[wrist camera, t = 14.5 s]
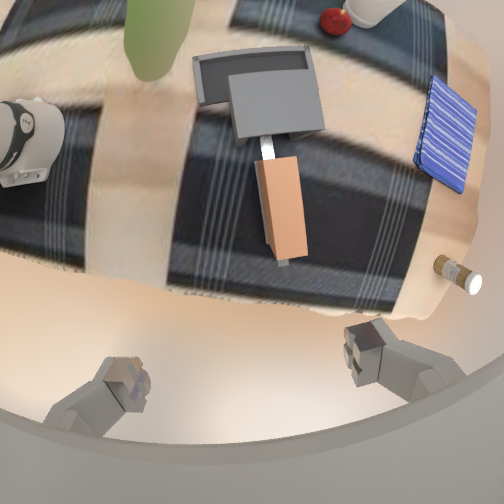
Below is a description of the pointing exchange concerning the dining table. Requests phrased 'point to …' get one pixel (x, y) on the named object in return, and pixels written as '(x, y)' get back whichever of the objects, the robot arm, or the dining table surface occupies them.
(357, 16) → the bottle
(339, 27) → the onion
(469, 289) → the sprinkles bottle
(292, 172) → the orange rectangular block
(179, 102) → the dining table surface
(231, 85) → the tunnel
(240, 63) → the tray
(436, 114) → the dish towel
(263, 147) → the rail
